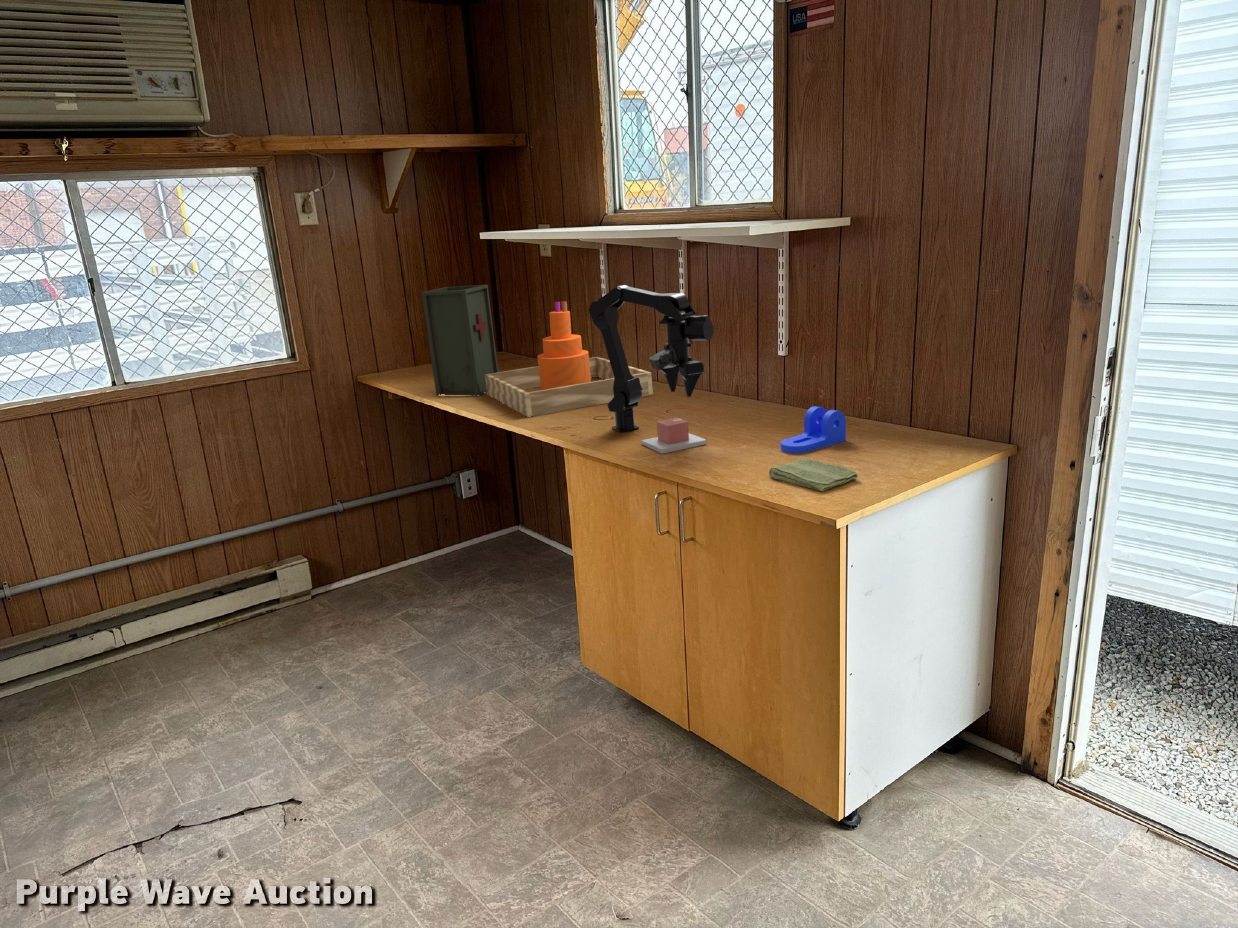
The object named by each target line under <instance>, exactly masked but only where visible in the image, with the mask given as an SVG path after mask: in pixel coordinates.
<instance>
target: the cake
mask: <svg viewBox="0 0 1238 928" xmlns="http://www.w3.org/2000/svg"><path fill="white" fill-rule="evenodd" d="M567 303H568V302H567V301H561V302H560V301H555V302H554V309H555V311H551V312H549V313H548V314H549V326H550V336H547V337H544V338H542V348H543V353H540V354H538V355H537V362H538V363H537V364H538V366H539V375H540V384H541V387H540V390H546V389H552V388H558V387H564V386H570V385H576V384H581V383H587V382H592V378H591V376H590V365H589V358H590V356H589V351H588V350H586V349H583V346H582V345H583V344H582V336H581V335H580V334H573V333H572V324H571V322H572V321H571V311H569V310H568V304H567Z"/></svg>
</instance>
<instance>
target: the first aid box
mask: <svg viewBox="0 0 1238 928" xmlns="http://www.w3.org/2000/svg"><path fill="white" fill-rule="evenodd" d="M488 285H489V284H481V285H480V284H479V285H475V284H474V285H461V286H444V287H441V288H437V289H431V290H428V291H427V290H426V291H422V292H421V300H422V307H423V312H424V321H425V325H426V333H427V339H428V347H429V353H430V360H431V361H430V362H431V368H432V374H433V375H432V376H433V380H434V387H435V395H439V394H440V395H441V394H445V395H481V394H482V393H484V392H487V389H486V381H485V374H491V373H498V372H499V365H498V358H497V357H498V356H497V350H496V349H497V348H496V344H495V343H496V342H495V333H494V326H493V317H492V309H491V302H490V295H489V286H488ZM481 396H482V395H481Z"/></svg>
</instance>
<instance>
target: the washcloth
mask: <svg viewBox="0 0 1238 928" xmlns="http://www.w3.org/2000/svg"><path fill="white" fill-rule="evenodd" d="M768 475H769V477H771V479H774V480H778V481H779V482H782V483H787V484H789V485H790V484H791V485H795V486H799V487H803V488H808V489H811V490H815V491H816V492H817V491H818V492H822V493H823V492H825V491H827V490H830V489H832V488H835V487H838V486H841V485H844V484H846V483H848V482H850V481H852V480H854V479H857V478H858V477H859V475H858V473H856V471H854V470H851V469H849V468H847V467H845V466H841V465H835V464H830V463H825V462H823V461H820V460H816V459H811V458H801V459H800V458H799V459H795V460H793V461H790V462H789V463H786V464H785V463H783V464H779V465H775V466H772V467H770V469H769V472H768Z"/></svg>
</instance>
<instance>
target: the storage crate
mask: <svg viewBox="0 0 1238 928" xmlns="http://www.w3.org/2000/svg"><path fill="white" fill-rule="evenodd" d="M589 365H590V376H591V379H593V378H592V377H596V376H598V377H599V378H598V379H599V380H594V381H591V382H587V383H581V384H576V385H570V386H564V387H558V388H552V389H546V390H541V389H540V390H535V391H530V392H527V391H526V390H530V389H535V388H534V387H538V388H541V384H540V375H539V366H537V365H536V366H530V367H524V368H518V369H517V368H516V369H512V370H511V369H510V370H506V371H498V373H491V374H485V381H486V389H487V393H486V395H487V396H488V395H489V396H488V397H490V396H492V397H493V398H495V399H497V400H498V401H497V400H496V401H497V402H499V401H500V402H499V403H501V402H502V403H501V404H503V405H504V404H506V405H507V406H506V405H505V406H506V407H508V406H509V407H508V408H510V407H511V408H510V409H512V410H514V411H515V410H516V411H515V412H517V413H520V414H521V413H522V415H523V416H525V417H526V416H527V417H526V418H531V416H533V417H538V416H543V415H549V414H548V413H550V414H553V413H561V412H565V411H572V410H577V409H582V408H587V407H592V406H597V405H604V404H609V402H610V401H611V400H612V399H613V397H614V393H613V384H614V374H613V371H612V368H611V364H610V361H609V359H606V358H602V357H599V356H594V357H589ZM628 367H629V371H630V373H631V375H632V376H633V377H634V378H637V377H638V378H639V379H640V385H641V387H642V389H643V390H642V397H647V396H653V392H654V391H653V378H652V376H653V375H652V372H651V371H647V370H644V369H640V368H637V367H633V366H631V365H628ZM600 378H602V379H600ZM603 379H604V380H603ZM525 389H526V390H525ZM492 397H491V398H492ZM642 397H641V398H642ZM493 398H492V399H493ZM495 399H494V400H495Z"/></svg>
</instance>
